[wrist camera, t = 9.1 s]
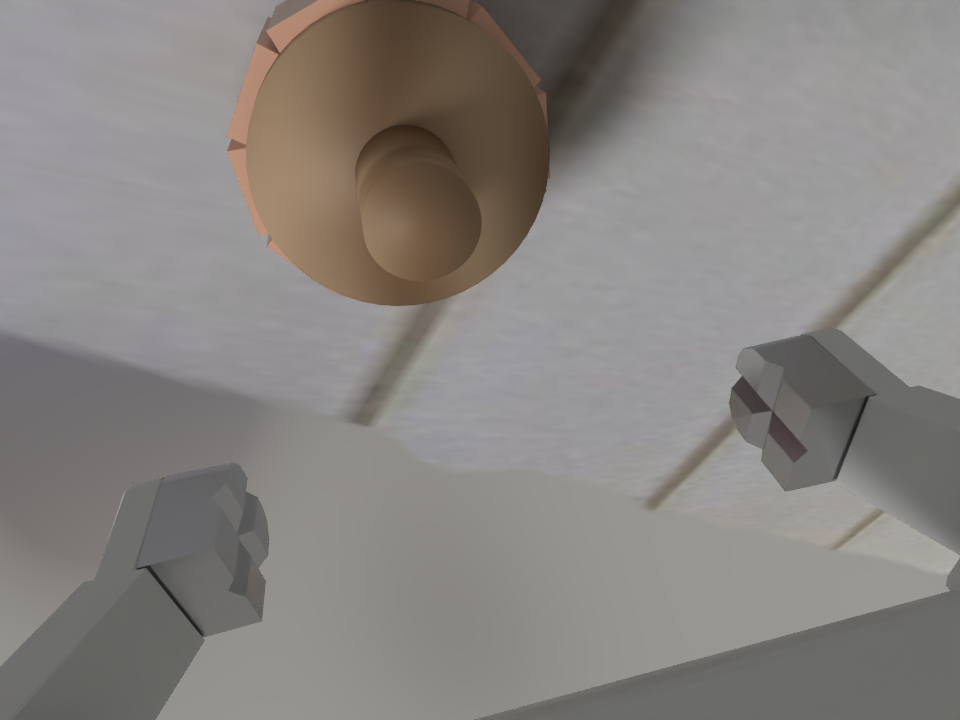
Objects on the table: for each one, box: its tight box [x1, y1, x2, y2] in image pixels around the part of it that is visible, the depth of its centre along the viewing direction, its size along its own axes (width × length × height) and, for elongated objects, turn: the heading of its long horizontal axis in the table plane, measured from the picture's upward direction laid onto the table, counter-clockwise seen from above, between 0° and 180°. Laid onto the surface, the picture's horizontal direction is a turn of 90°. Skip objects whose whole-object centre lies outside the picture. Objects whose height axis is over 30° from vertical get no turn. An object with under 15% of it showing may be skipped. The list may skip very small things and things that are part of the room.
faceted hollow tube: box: [227, 0, 550, 298], centre depth 23 cm, size 10×11×6 cm
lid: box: [246, 0, 550, 306], centre depth 18 cm, size 10×10×5 cm
